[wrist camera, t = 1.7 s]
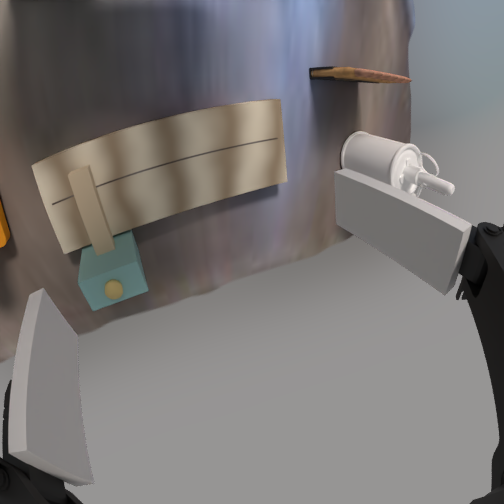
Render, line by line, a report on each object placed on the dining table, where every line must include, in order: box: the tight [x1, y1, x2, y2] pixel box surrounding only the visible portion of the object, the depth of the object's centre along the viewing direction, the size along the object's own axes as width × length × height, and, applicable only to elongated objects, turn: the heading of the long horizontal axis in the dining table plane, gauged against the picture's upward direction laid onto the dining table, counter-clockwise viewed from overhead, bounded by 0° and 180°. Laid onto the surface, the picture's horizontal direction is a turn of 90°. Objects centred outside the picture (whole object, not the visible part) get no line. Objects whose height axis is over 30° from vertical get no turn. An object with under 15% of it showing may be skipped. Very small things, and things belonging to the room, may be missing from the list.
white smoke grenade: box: [341, 131, 455, 197], centre depth 40 cm, size 11×9×20 cm
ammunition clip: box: [309, 66, 411, 83], centre depth 33 cm, size 11×2×12 cm, turn 97°
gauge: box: [68, 164, 149, 311], centre depth 28 cm, size 7×14×11 cm, turn 9°
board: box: [32, 99, 287, 254], centre depth 33 cm, size 32×12×2 cm, turn 99°
